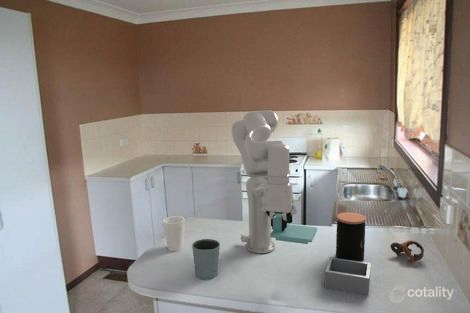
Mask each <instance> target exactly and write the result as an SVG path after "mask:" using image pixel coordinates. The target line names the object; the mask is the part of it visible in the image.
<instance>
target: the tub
mask: <svg viewBox="0 0 470 313" xmlns="http://www.w3.org/2000/svg"><path fill="white" fill-rule="evenodd" d="M327 261H328V262H327V265H326V269H325V271H324V272H325V273H324V274H325V275H324V289H329V290H334V291H342V292H345V293H346V292H348V293H353V294H359V295H365V296H369V295H370V294H369V293H370V283H371V282H370V281H371V280H370V279H371V263H372V262H365V261H362V262H360V261H352V260H345V259H338V258H337V257H329V258H328V260H327Z"/></svg>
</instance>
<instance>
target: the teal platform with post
mask: <svg viewBox="0 0 470 313" xmlns="http://www.w3.org/2000/svg"><path fill="white" fill-rule="evenodd" d="M282 220H283V213H279V212H276V213H275V216H274V217H273V230H271V234H270V237H271V239H272V238H274V239H275V241H279V242H280V241H281V242H287V243H296V244H303V245H308V244H309V243H313V240H314V238H315V236H316V234H317V231H318V227H316V226H306V225H297V224H288V223H287V228H285V230H284V231H282Z"/></svg>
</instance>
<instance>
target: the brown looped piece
mask: <svg viewBox="0 0 470 313" xmlns="http://www.w3.org/2000/svg"><path fill="white" fill-rule="evenodd" d="M412 245H415V246H416V247H417V248H419V249H420V253H418V254H417V253H416V254H415V253H414V254H413V255H412V252H413V249H411V248H409V247H410V246H412ZM389 247H390V249H391V251H392V252H393V253H394V254H395V255H396V256H397V257H398V256H399V255H400V254H401V253H404V254H405V256H406V257H408V258H407V263H408V264H413V263H415V262H419V261H420V260H422V259H423V258H424V252H425V250H424V247H423V246H422V245H421V244H420V243H419V242H418V241H415V240H407V241H404V242H401V243H399V242H392V243H391V244H390V246H389Z"/></svg>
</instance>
